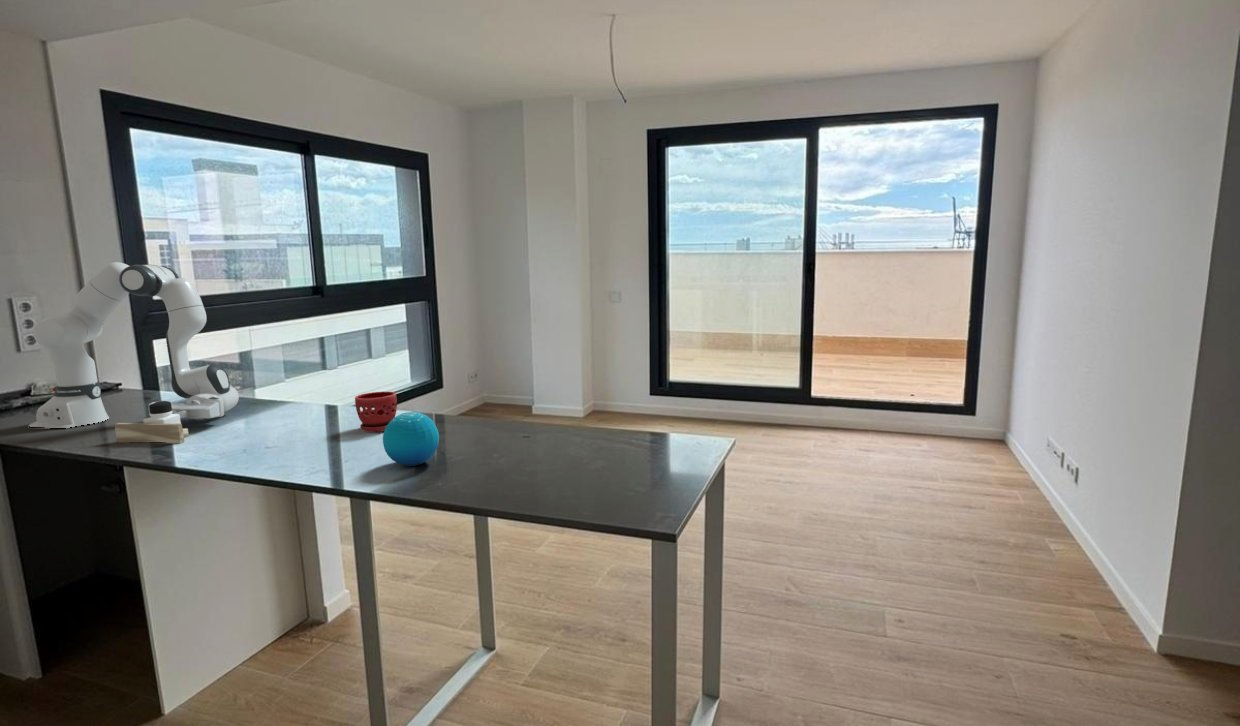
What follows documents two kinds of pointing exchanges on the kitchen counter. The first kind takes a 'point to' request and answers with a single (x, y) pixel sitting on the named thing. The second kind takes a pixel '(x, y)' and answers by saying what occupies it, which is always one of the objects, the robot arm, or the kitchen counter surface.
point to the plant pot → (376, 410)
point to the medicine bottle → (162, 413)
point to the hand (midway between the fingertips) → (169, 416)
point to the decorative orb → (410, 438)
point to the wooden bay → (150, 432)
